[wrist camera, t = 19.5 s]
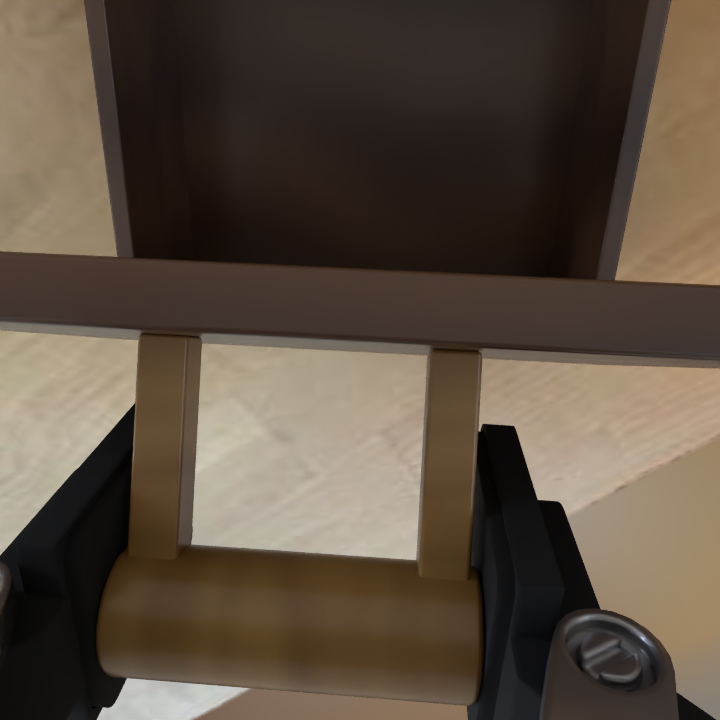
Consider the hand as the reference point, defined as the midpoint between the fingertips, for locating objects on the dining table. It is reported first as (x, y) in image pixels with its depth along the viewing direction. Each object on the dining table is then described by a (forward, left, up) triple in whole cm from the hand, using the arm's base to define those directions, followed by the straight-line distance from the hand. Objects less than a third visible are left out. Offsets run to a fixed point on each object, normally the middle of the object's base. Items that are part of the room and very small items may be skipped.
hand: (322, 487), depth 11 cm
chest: (-6, 0, -17) cm, 18 cm away
